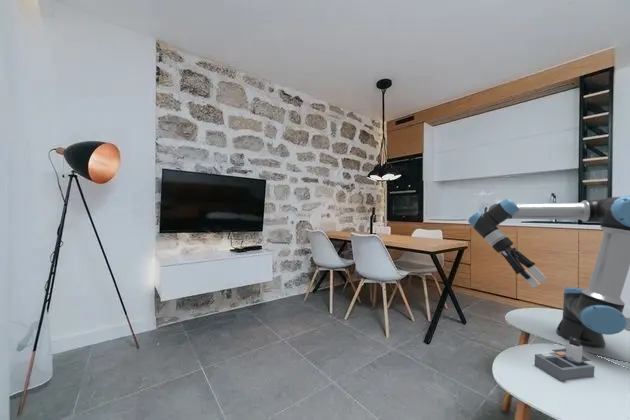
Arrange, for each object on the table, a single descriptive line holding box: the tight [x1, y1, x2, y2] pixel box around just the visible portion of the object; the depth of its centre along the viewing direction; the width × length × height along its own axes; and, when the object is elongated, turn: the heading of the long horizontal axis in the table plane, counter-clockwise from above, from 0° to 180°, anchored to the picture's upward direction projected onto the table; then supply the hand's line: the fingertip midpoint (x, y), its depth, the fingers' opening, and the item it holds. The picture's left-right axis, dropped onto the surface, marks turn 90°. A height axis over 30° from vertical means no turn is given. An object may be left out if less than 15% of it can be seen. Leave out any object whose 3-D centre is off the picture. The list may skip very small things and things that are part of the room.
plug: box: [565, 337, 584, 366], centre depth 91 cm, size 4×4×12 cm
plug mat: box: [551, 348, 592, 362], centre depth 100 cm, size 8×8×1 cm
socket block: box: [533, 351, 595, 382], centre depth 91 cm, size 14×9×4 cm, turn 101°
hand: (540, 283), depth 104 cm, fingers open, 13 cm apart
